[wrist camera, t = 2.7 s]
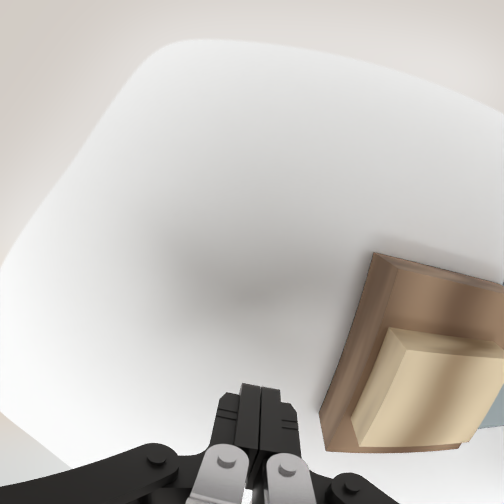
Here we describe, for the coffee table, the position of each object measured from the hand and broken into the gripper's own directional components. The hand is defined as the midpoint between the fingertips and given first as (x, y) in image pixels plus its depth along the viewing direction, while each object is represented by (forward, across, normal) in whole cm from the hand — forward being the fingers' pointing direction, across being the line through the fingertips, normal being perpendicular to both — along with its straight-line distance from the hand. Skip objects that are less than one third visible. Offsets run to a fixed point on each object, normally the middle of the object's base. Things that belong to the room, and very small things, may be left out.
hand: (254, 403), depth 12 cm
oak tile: (+4, -10, 0) cm, 11 cm away
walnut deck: (+8, -11, 0) cm, 14 cm away
